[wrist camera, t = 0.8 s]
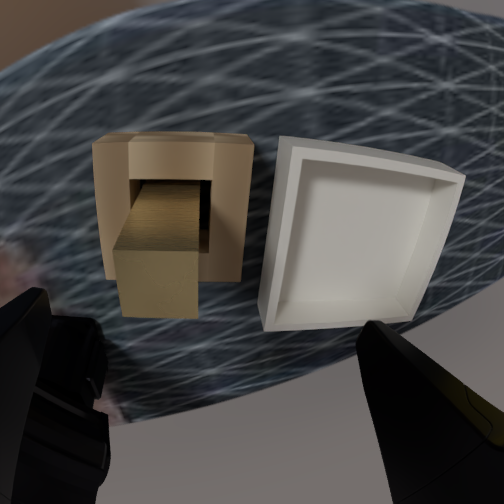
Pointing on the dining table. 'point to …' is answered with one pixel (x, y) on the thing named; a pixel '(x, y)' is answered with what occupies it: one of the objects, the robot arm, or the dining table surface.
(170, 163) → the block
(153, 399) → the dining table surface
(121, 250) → the pin
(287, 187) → the tray
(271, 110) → the dining table surface
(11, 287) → the dining table surface
